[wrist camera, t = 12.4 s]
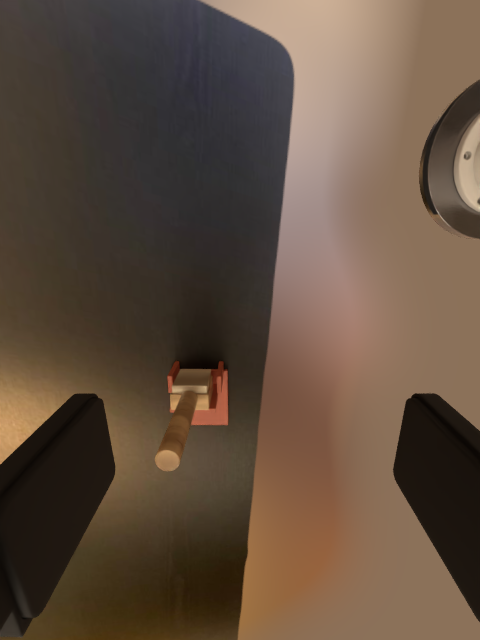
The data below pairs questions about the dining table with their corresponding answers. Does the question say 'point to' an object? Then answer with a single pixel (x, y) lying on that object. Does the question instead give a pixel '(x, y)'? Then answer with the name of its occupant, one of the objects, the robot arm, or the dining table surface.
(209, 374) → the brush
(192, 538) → the dining table surface
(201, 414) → the brush stand
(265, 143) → the dining table surface
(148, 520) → the dining table surface
